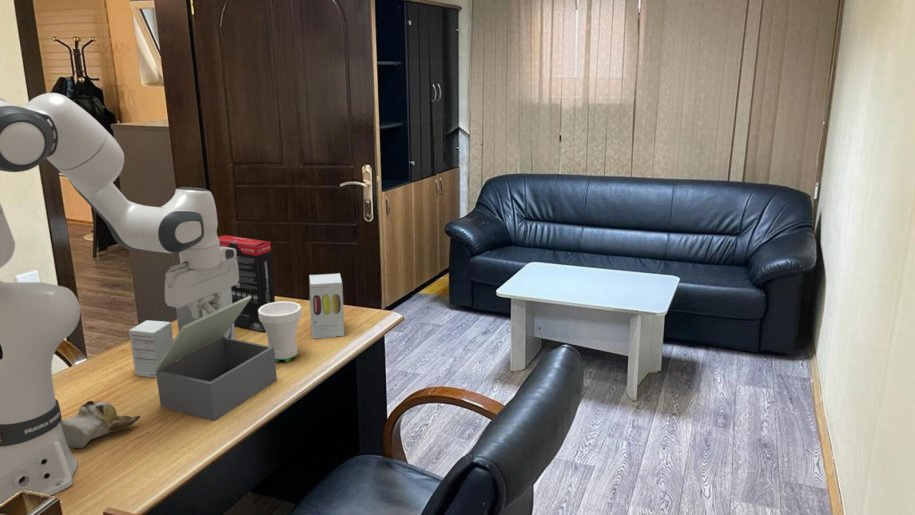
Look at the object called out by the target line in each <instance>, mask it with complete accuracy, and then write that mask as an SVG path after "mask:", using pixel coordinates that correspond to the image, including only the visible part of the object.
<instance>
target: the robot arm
mask: <svg viewBox="0 0 915 515" xmlns="http://www.w3.org/2000/svg"><path fill="white" fill-rule="evenodd" d="M45 160H47V161H48V162H49V163H50V164H52V165H53V166H54V167H55V168H56V169H57V170H58V171H59V172H60V173H61V174H62V175H64V176H65V177H66V178H67V179H68V181H69V183H70V184H71V186H72V187H73V189H74V190H75V192H77V194H78V195H80V197H82V199H84V201H85V202H86V203H87V204H88V205H89V206H90V207H91V208H92V209H93V210H94V211H95V212H96V213H97V215H98V216H99V217H100V218H101V219H102V220H103V221H104V222H105V224H106V226H107V228H108V230H109V232H110V234H111V237H112V238H113V239H114V242H116V243H117V244H118V246H120V247H122V248H124V249H126V250H133V251H135V250H136V251H149V252H155V253H156V252H157V253H166V254H177V253H178V256H179V263H178V264H176V265H172V266H170V267H169V269H168V270H167V271H166V273H165V278H164V279H165V280H164V302H165V304H166V305H167V306H168V307H170V308H175V309H176V308H180V307H183V306H185V305H187V306H188V308H189V309H190V310H191V311H192V317H193V318H195V319H198V318H200V317H202V316H203V315H202V310H199V309H198V308H197V306H196V305H198V300H200V299H202V298H205V297H207V296H210V295H213V296H214V300H213V302H212V303H209V304H210V305H211V306H212V307H213V308H214V309H215V310H218V309H220V304H219V302H220V300H221V297H222V290H224V289H227V288H229V287H232V286H234V285H236V284H237V283H238V280H239V270H238V263H237V260H236V259H235V257H236V254H237V253H236V249H234V248H229V247H222V246H220V242H219V239H218V237H219V236H218V233H217V232H218V231H217V229H218V225H219V224H218V223H219V222H218V214H217V213H218V212H217V207H216V202H215V199H214V196H213V193H212V192H211V191H210V190H208V189H207V188H202V187H201V188H200V187H192V186H191V187H188V186H187V187H186V186H181V187H177V188H176V189H175V192H174V195H173V196H172V198H171V199H170V200H169V201H168V202H166V203H165V204H164V205H161V206H160V207H159V206H152V205H144V204H140V203H137V202H132V201H130V200H128V199H127V197H125V195H124V194H123V193H122V192H121V191H120V189H118V187H117V186H116V185H115V184H114V182H115V181H116V179H117V178H118V177H119V176H120V174H121V173H122V170H123V168H124V163H125V153H124V151H123V149H122V147H121V146H120V144H119V142H118V141H117V140H116V139H115V137H114V136H113V135H112V134H111V133H110V132H109V131H108V130H107V129H106V128H105V127H104V126H103V125H102V124H101V123H100V122H99V121H98V120H97V119H96V118H95V117H93V116H92V115H91V114H90V113H89V112H87V111H86V110H85V109H84V108H83V107H81V106H80V105H79V104H77V103H76V102H75V101H73V100H71V99H70V98H69V97H67V96H66V95H63V94H61V93H57V92H47V93H46V92H45V93H43V94H39V95H38V96H37V95H36V97H33V98H32V99H31V100H29V101H28V102H27V103H26V104H25V105H23V106H20V105H17V104H14V103H12V102H9V101H7V100H5V99H3V98H1V97H0V171H1V172H7V173H20V172H26V171H29V170H31V169H34V168H37V167H38V166H39V165H40V164H42V163H43V162H44V161H45ZM15 250H16V241H15V239H14V235H13V234H12V230H11V228H10V225H9V223H8V220H7V217H6V214H5V213H4V210H3V208H2V204H1V203H0V269H1V268H3V267H4V266H5V265H6V264H8V263H9V261H11V259H12V257H13V256H14V253H15ZM80 317H81V306H80V303H79V300H78V298H77V296H76V295H75V293H74V292H73V291H72V290H71V289H70V288H68V287H65V286H62V285H56V284H53V283H46V282H42V281H41V282H40V281H39V282H34V281H33V282H32V281H31V282H29V281H28V282H26V281H25V282H23V281H22V282H19V281H18V282H16V281H15V282H11V281H10V282H8V281H7V282H6V281H3V280H2V279H0V347H1V349H2V358H1V359H0V504H2V503H4V502H5V501H6V500H8V499H9V498H11V497H12V496H14V495H15V494H16V493H18V492H20V491H24V490H25V491H32V492H37V493H42V494H47V495H50V494H53V495H55V494H57V493H60V492H62V491H64V490H65V489H67V488H69V487H71V486H72V485H73V483H74V479H73V475H74V474H75V472H76V471H77V468H78V462H77V460H76V458H75V457H74V455H73V454H72V451H71V449H70V448H69V447H70V446H69V444H68V443H67V442H66V439H65V436H64V433H63V430H62V427H61V420H63V419H62V418H63V417H62V413H61V412H62V411H61V407H60V403H59V401H58V399H57V398H56V394H55V388H54V381H53V374H52V373H53V370H52V366H53V365H52V364H53V359H54V355H55V353H56V350H57V349H58V347H59V345H61V343H62V342H63V341H64V340H66V338H68V337H69V336H70V335H71V334H72V333H73V332H74V330H75V329H76V328H77V326H78V323H79V322H80Z"/></svg>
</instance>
